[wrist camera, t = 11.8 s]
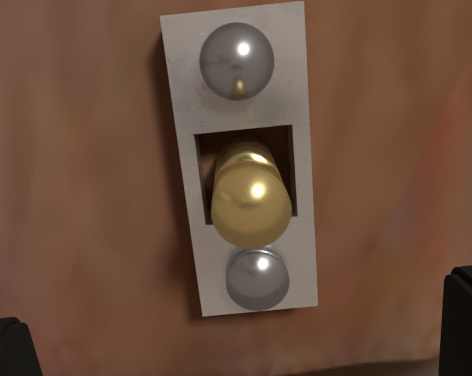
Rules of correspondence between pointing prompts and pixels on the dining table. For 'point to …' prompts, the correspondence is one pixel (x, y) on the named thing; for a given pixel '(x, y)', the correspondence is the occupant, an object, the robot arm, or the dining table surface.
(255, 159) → the pin
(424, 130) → the dining table surface
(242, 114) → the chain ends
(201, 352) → the dining table surface
